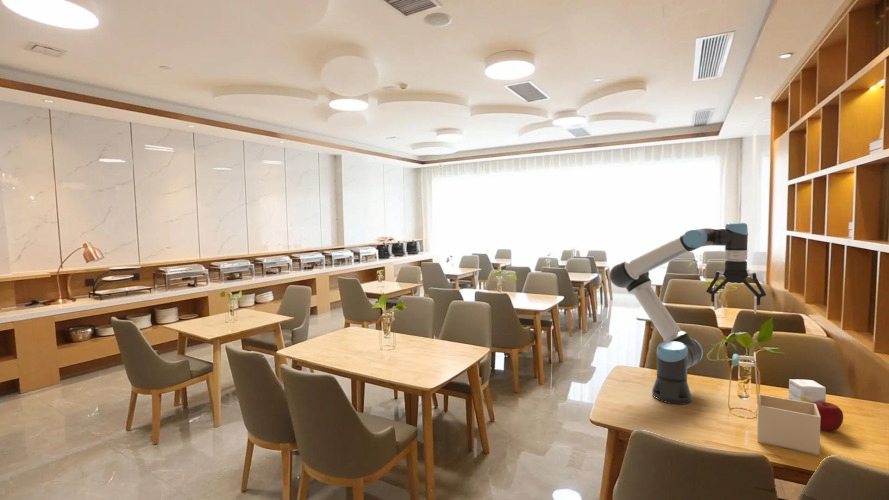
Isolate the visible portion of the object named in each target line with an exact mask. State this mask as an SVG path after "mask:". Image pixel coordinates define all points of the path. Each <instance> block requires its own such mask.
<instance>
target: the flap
mask: <svg viewBox="0 0 889 500" xmlns="http://www.w3.org/2000/svg"><path fill="white" fill-rule="evenodd" d="M740 359H741V360H752V361H753V362H747V361H746V362H744V361H740ZM731 365H732V366H733V367H738V366H743V367H744V366H745V367H754V374H755V391H756V393H755V394H756V404H757V406H758V405H759V401H758V394H759V384H758V373H757V371H758V370H757V369H758V368H757V356H756V351H753V356H749V355H748V356H747V355H739V354H738V353H734V354H733V355H732V359H731Z"/></svg>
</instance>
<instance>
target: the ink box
mask: <svg viewBox="0 0 889 500" xmlns="http://www.w3.org/2000/svg"><path fill="white" fill-rule="evenodd" d="M788 380H789V381H788V399H791V400H796V401H802V402H808V403H812V402H815V401H823V402H826V393H827V392H826V391H827V388H826V386H823V385H821V384H820V383H818V382H817V381H815V380H811V379H799V378H798V379H797V378H796V379H788Z"/></svg>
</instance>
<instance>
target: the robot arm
mask: <svg viewBox="0 0 889 500" xmlns="http://www.w3.org/2000/svg"><path fill="white" fill-rule="evenodd" d="M748 235H749V233H748V224H747V223H745V222H728V223H725V227H697V228H692V229H689V230H687V231H686V232H685V233H684V234H682V235H680V236H677V237H675V238H674V239H672V240H670V241H668V242H666V243H664V244H663V245H660V246H658V247H656V248H654V249H651V250H650V251H648V252H646V253H644V254H642V255H640V256H639V257H636V258H634V259H632V260H625V261H623V262H620V263H619V264H616V265H614V266H613V267H612V268H611V270H610V272H609V280H610V282H611V283H612V285H614V286H615V287H617V288H622V289H626V291H627V292H628V294H630V295H634V297H635V298H636V299H637V301H638V303H639V304H640V306H641V307H642V309H643V310H644V312H645V313H646V315H647V316H648V318H649V320H650V321H651V322H652V324H653V326H654V327H655V328H656V329H657V331H658V333H659V334H660V336H661V337H662V339H663V341H662V342H660V343H658V344H657V348H656V379H655V382H654V384H653V386H652V388H651V391H652V393H651V395H652V394H653V395H654V396H655V397H657V398H658V399H660V400H663V401H666V402H665V403H667V402H670V403H669V404H672V403H675V404H674V405H686V404H690V403H691V402H692V401H693V400H692V393H691V389H690V387H689V384H688V369H689V368H691V367H694V366H696V365H697V364H698V363H700V361H701V360H702V359H703V356H704V350H703V347H702V345H701V343H699V341H697V340H696V339H693V338H691V336H690V335H689V333H688V332H687V331H685V330H682V329H681V328H680V327H679V325H678V323H677V322H676V321H675V320H674V317H673V316H672V315H671V313H670V312H669V311H668V309H667V307H666V306H665V305H664V303H663V302H662V300H661V299H660V297H659V296H658V295H657V293H656V291H655V290H654V289H653V287H652V280H651V279H650V272H651V271H652V270H654V269H656V268H658V267H661V266H663V265H665V264H667V263H669V262H671V261H673V260H676V259H678V258H679V257H681V256H684V255H686V254H688V253H690V252H693V251H695V250H698V249H699V248H702V247H707V246H721V247H722V246H724V250H725V251H724V259H725V262H724V271H719V270H717V271H716V273H715V275H714V278H713V279H712V281H711V283H710V284H709V286H708V288H707V289H706V290H705V292H706V293H708V294H710V295H711V302H713V304H714V307H713V309H714V311H717V309H718V294H717V293H718V291H720V290H721V289H722V288H723V287H724V286H726V284H727V283H731V284H732V283H733V284H734V283H736V284H742V283H743V285H744V286H746V287H747V288H748V289H749V290H750V292H752V294H754V298H753V299H754V301H753V313H754V315H755V314H757V306H760V305H761V298H762V297H766V296H767V293H766V292H765V290H764V288H763V287H762V284H761V282H760V281H759V279H758V278H757V273H756V272H749V273H748V261H747V260H748V241H749V240H748V239H749V238H748V237H749V236H748ZM722 276H724V278H725V279H724V280H723V281H722V282H721V283H720V284H718V285H717V286H716V287H715V288H714V289H713V287H714V286H715V284H716V283H717V281H718V279H719V278H721V277H722ZM748 277H750V278H751V279H752V280H753V282H754V284H755V285H756V287H757V288H758V290H759V292H760V293H759V292H758V291H757V290H756V288H754V287H753V286H752V285H751V283H750V282H748V281H747V278H748ZM653 395H652V396H653ZM655 397H654V398H655ZM658 399H657V400H658ZM660 400H659V401H660ZM663 401H662V402H663Z"/></svg>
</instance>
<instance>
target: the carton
mask: <svg viewBox="0 0 889 500" xmlns="http://www.w3.org/2000/svg"><path fill="white" fill-rule="evenodd" d="M758 401H759V405H758V404H757V420H756V421H757V423H756V424H757V426H756V427H757V428H756V429H757V443H758V444H759V443H760V444H763V445H768V446H772V447H776V448H781V449H786V450H790V451H794V452H798V451H799V452H798V453H802V452H803V453H802V454H807V455H811V456H812V455H813V456H816V457H820V447H821V444H820V443H821V442H820V441H821V430H820V420H821V417H820V414H819V411H818V408H817V406H816V404H814V403H808V402H802V401H796V400H791V399H789V398H783V397H778V396H771V395H767V394H762V393H761V394H760V393H758Z"/></svg>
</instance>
